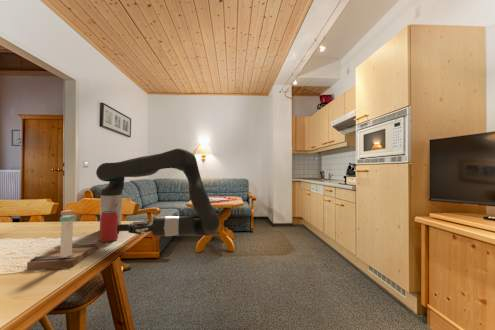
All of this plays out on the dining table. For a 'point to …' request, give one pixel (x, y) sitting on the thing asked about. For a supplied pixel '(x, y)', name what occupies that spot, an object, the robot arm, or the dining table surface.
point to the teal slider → (66, 235)
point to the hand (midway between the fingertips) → (117, 227)
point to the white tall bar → (67, 212)
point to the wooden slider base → (54, 260)
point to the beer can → (108, 226)
